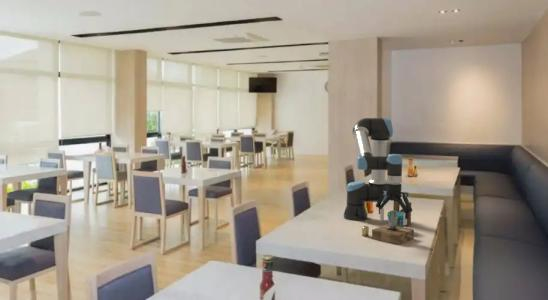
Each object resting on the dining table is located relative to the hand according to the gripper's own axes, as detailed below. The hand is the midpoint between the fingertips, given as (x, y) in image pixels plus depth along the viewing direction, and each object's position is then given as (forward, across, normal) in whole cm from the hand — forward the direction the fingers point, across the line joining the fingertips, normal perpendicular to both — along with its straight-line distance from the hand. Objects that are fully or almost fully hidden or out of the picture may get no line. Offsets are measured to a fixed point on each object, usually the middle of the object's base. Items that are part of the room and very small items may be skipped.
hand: (393, 222), depth 240 cm
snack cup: (+9, -7, +17) cm, 20 cm away
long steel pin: (+9, 0, 0) cm, 9 cm away
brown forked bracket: (+9, -12, +33) cm, 36 cm away
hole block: (+9, 0, 0) cm, 9 cm away
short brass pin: (+9, -14, -5) cm, 17 cm away
